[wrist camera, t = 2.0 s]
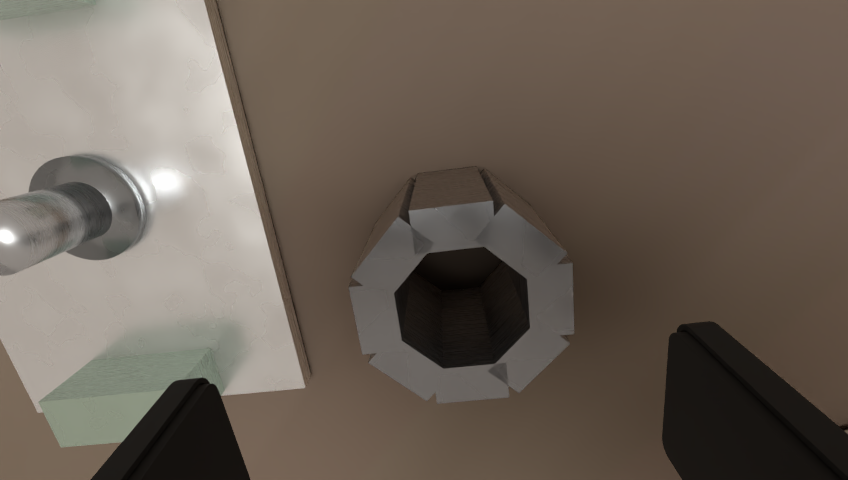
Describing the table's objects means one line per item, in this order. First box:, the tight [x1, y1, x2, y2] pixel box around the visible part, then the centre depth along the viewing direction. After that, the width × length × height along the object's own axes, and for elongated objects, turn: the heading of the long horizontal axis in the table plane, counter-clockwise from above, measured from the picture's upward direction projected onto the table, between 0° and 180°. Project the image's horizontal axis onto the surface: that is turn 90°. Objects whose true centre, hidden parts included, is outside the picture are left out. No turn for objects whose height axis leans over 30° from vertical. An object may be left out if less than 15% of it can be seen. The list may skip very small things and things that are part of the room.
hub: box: [349, 166, 574, 404], centre depth 17 cm, size 7×7×6 cm
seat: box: [0, 0, 311, 447], centre depth 17 cm, size 20×14×6 cm
